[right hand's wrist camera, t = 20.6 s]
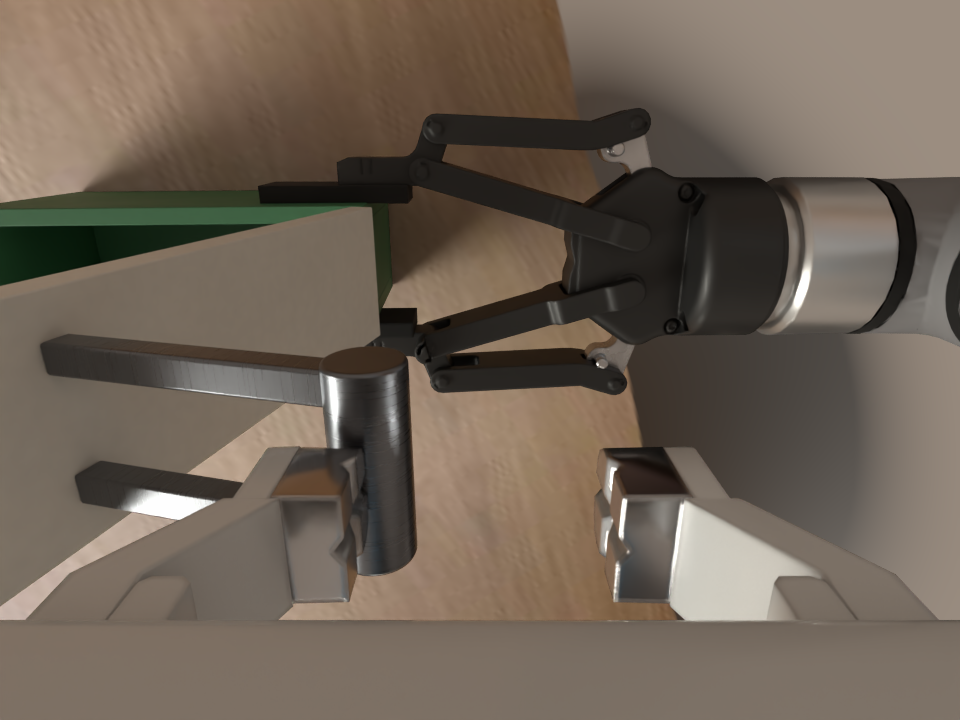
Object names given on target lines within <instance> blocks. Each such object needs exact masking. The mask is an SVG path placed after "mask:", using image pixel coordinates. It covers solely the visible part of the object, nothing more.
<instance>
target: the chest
mask: <svg viewBox="0 0 960 720" xmlns="http://www.w3.org/2000/svg"><path fill="white" fill-rule="evenodd" d="M348 207H371V208H372V216H373V232H374V247H375V262H376V277H377V293H378V308H379V314H380V312H381V309H382V307H383V305H384V303H385V301H386V299H387V297H388V294H389V292H390V290H391V288H392V286H393V285H392V267H391V250H390V232H389V214H388V203H282V204H260V199H259V190H249V191H129V192H76V193H69V194H62V195H55V196H47V197H40V198H33V199H26V200H19V201H11V202H4V203H0V286H3V285H7V284H12V283H16V282H21V281H25V280H29V279H34V278H38V277H43V276H47V275H52V274H56V273H60V272H65V271H69V270H74V269H78V268H83V267H87V266H91V265H96V264H100V263H105V262H109V261H113V260H118V259H122V258H127V257H131V256H136V255H140V254H144V253H149V252H153V251H158V250H162V249H167V248H171V247H175V246H180V245H184V244H189V243H193V242H197V241H202V240H206V239H211V238H215V237H220V236H224V235H228V234H233V233H237V232H242V231H246V230H251V229H255V228H259V227H264V226H268V225H273V224H277V223H281V222H286V221H290V220H295V219H299V218H304V217H308V216H312V215H317V214H321V213H326V212H330V211H335V210H339V209H343V208H348Z"/></svg>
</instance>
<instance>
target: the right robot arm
mask: <svg viewBox="0 0 960 720" xmlns="http://www.w3.org/2000/svg"><path fill="white" fill-rule="evenodd" d="M365 474H366V469H365V459H364V453H363V451H362V448H318V447H302V448H301V447H300V446H298V447H271V448H268V449H267V450H266V451H265V452H264V454H263V455H262V457H261V458H260V460H259V461H258V463H257V464H256V465H255V467H254V468H253V470H252V471H251V473H250V474H249V476H248V477H247V478H246V480H245V481H244V483H243V484H242V486H241V487H240V488H239V490H238V491H237V493H236V494H235V496H234V497H233V498H223V499H221V500H219V501H217V502H215V503H212V504H210V505H208V506H206V507H204V508H202V509H200V510H198V511H196V512H194V513H192V514H190V515H188V516H186V517H184V518H182V519H180V520H178V521H176V522H174V523H172V524H170V525H168V526H165V527H163V528H161V529H159V530H157V531H155V532H153V533H151V534H149V535H147V536H145V537H143V538H141V539H139V540H137V541H135V542H133V543H131V544H129V545H127V546H125V547H123V548H120V549H118V550H116V551H114V552H112V553H110V554H108V555H106V556H104V557H102V558H100V559H98V560H96V561H94V562H92V563H90V564H88V565H86V566H84V567H82V568H80V569H78V570H76V571H73V572H71V573H69V575H68V576H67V577H66V578H65V579H64V580H63V581H62V582H61V583H60V584H59V585H58V586H57V587H56V588H55V589H54V590H53V591H52V592H51V593H50V595H49V596H48V597H47V598H46V599H45V600H44V601H43V602H42V603H41V604H40V605H39V606H38V607H37V608H36V609H35V610H34V611H33V612H32V614H31V615H30V616H29V617H28V618H27V619H26V620H0V720H960V620H938V619H937V617H936V616H935V615H934V614H933V613H932V612H931V611H930V610H929V609H928V608H927V607H926V606H925V605H924V604H923V603H922V602H921V601H920V600H919V599H918V597H917V596H916V595H915V594H914V593H913V592H912V591H911V590H910V589H909V588H908V587H907V586H906V585H905V584H904V583H903V582H902V581H901V580H900V579H899V578H898V576H897V575H896V574H894V573H892V572H890V571H888V570H886V569H884V568H882V567H880V566H877V565H875V564H873V563H871V562H869V561H867V560H865V559H863V558H861V557H859V556H857V555H855V554H853V553H851V552H849V551H847V550H845V549H843V548H841V547H839V546H837V545H834V544H832V543H830V542H828V541H826V540H824V539H822V538H820V537H818V536H816V535H814V534H812V533H810V532H808V531H806V530H804V529H802V528H800V527H798V526H796V525H794V524H792V523H789V522H787V521H785V520H783V519H781V518H779V517H777V516H775V515H773V514H771V513H769V512H767V511H765V510H763V509H761V508H759V507H757V506H755V505H753V504H751V503H749V502H746V501H744V500H742V499H740V498H730V497H729V496H728V494H727V493H726V491H725V490H724V489H723V487H722V486H721V484H720V483H719V482H718V480H717V479H716V477H715V476H714V475H713V473H712V472H711V470H710V469H709V468H708V466H707V465H706V463H705V462H704V461H703V459H702V458H701V456H700V455H699V454H698V452H697V451H696V449H695V448H692V447H690V446H687V447H666V448H663V447H639V448H603V449H601V450H600V451H599V456H598V462H597V476H598V479H599V482H600V485H601V488H602V489H601V490H600V491H599V492H598V493H597V494H596V495H595V502H594V530H595V537H596V543H597V546H598V550H599V553H600V554H601V555H603V556H604V557H605V558H606V562H605V575H606V578H607V581H608V585H609V588H610V591H611V595H612V598H613V601H614V602H635V603H670V606H671V607H672V608H673V609H674V610H675V611H676V612H677V613H678V614H679V615H680V616H681V617H683V618H684V619H685V620H278V619H280V618H281V617H282V616H283V615H284V614H285V613H286V612H287V611H288V610H289V609H290V608H292V607H293V605H292V603H327V602H349V601H350V597H351V594H352V591H353V587H354V584H355V580H356V577H357V573H358V566H357V557H359V556H360V555H361V554H363V552H364V548H365V544H366V540H367V531H368V496H367V495H366V494H365V493H364V492H363V490H362V489H361V486H362V483H363V480H364V477H365Z"/></svg>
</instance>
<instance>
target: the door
mask: <svg viewBox="0 0 960 720" xmlns="http://www.w3.org/2000/svg"><path fill="white" fill-rule="evenodd" d="M378 336H380V323H379V308H378V293H377V277H376V262H375V247H374V232H373V216H372V208H371V207H348V208H343V209H339V210H335V211H330V212H326V213H321V214H317V215H312V216H308V217H304V218H299V219H295V220H290V221H286V222H281V223H277V224H273V225H268V226H264V227H259V228H255V229H251V230H246V231H242V232H237V233H233V234H228V235H224V236H220V237H215V238H211V239H206V240H202V241H197V242H193V243H189V244H184V245H180V246H175V247H171V248H167V249H162V250H158V251H153V252H149V253H144V254H140V255H136V256H131V257H127V258H122V259H118V260H113V261H109V262H105V263H100V264H96V265H91V266H87V267H83V268H78V269H74V270H69V271H65V272H60V273H56V274H52V275H47V276H43V277H38V278H34V279H29V280H25V281H21V282H16V283H12V284H7V285H3V286H0V606H1V605H3V604H4V603H6V602H7V601H8V600H10V599H11V598H13V597H14V596H15V595H17V594H18V593H20V592H21V591H22V590H24V589H25V588H27V587H28V586H29V585H31V584H32V583H34V582H35V581H36V580H38V579H39V578H41V577H42V576H43V575H45V574H46V573H48V572H49V571H50V570H52V569H53V568H55V567H56V566H57V565H59V564H60V563H62V562H63V561H64V560H66V559H67V558H69V557H70V556H71V555H73V554H74V553H76V552H77V551H78V550H80V549H81V548H83V547H84V546H85V545H87V544H88V543H90V542H91V541H92V540H94V539H95V538H97V537H98V536H99V535H101V534H102V533H104V532H105V531H106V530H108V529H109V528H111V527H112V526H113V525H115V524H116V523H118V522H119V521H120V520H122V519H123V518H125V517H126V516H127V515H129V514H130V513H132V512H134V513H140V514H145V515H151V516H156V517H162V518H167V519H173V520H180V519H182V518H184V517H186V516H188V515H190V514H192V513H194V512H196V511H198V510H200V509H202V508H204V507H206V506H208V505H210V504H212V503H215V502H217V501H219V500H221V499H223V498H233V497H234V496H235V494H236V493H237V491H238V490H239V488H240V487H241V486H242V484H243V483H242V482H235V481H229V480H223V479H216V478H210V477H204V476H197V475H191V474H186V473H188V472H189V471H191V470H192V469H193V468H195V467H196V466H198V465H199V464H200V463H202V462H203V461H205V460H206V459H207V458H209V457H210V456H212V455H213V454H214V453H216V452H217V451H219V450H220V449H221V448H223V447H224V446H226V445H227V444H228V443H230V442H231V441H233V440H234V439H235V438H237V437H238V436H240V435H241V434H242V433H244V432H245V431H247V430H248V429H249V428H251V427H252V426H254V425H255V424H256V423H258V422H259V421H261V420H262V419H263V418H265V417H266V416H268V415H269V414H270V413H272V412H273V411H275V410H276V409H277V408H279V407H280V406H282V405H283V404H284V403H290V404H299V405H307V406H316V407H323V414H324V424H325V433H326V443H327V448H362V451H363V453H364V459H365V469H366V474H365V477H364V480H363V483H362V486H361V489H362V490H363V492H364V493H365V494H366V495H367V496H368V531H367V540H366V544H365V548H364V552H363V554H361V555H360V556H359V557H357V566H358V573H357V574H359V575H363V576H380V575H386V574H389V573H393V572H395V571H397V570H399V569H401V568H403V567H404V566H406V565H407V564H408V563H409V562H410V561H411V560H412V558H413V557H414V555H415V553H416V550H417V530H416V510H415V490H414V470H413V450H412V430H411V410H410V390H409V369H408V359H407V357H406V356H405V354H404V353H402V352H400V351H398V350H395V349H391V348H386V347H376V346H366V345H367V344H368V343H370V342H371V341H373V340H374V339H375V338H377V337H378ZM364 346H365V347H364Z"/></svg>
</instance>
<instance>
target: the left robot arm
mask: <svg viewBox="0 0 960 720" xmlns="http://www.w3.org/2000/svg"><path fill="white" fill-rule="evenodd" d="M650 125H651V118H650V116H649V113H648V112H647V111H646V110H644V109H641V108H635V109H629V110H623V111H619V112H616V113H613V114H610V115H607V116H604V117H601V118H598V119H595V120H592V121H581V120H560V119H539V118H518V117H497V116H476V115H455V114H431V115H430V116H428V117H427V118H426V119H425V121H424V122H423V127H422V131H421V134H420V137H419V140H418V144H417V146H416V149H415V150H414V151H413V153H411V154H410V155H409V156H405V157H349V158H346V159H344V160H341V161H339V162H337V172H338V182H273V183H269V184H265V185H260V186H258V190H259V199H260V204H282V203H409V202H410V200H411V199H412V198H413V194H412V186H420V187H423V188H427V189H430V190H434V191H437V192H440V193H444V194H447V195H451V196H454V197H457V198H461V199H464V200H467V201H471V202H474V203H478V204H481V205H484V206H488V207H491V208H495V209H498V210H501V211H505V212H508V213H511V214H515V215H518V216H522V217H525V218H528V219H532V220H535V221H539V222H542V223H545V224H549V225H552V226H554V227H556V228H559V229H562V230H564V241H565V246H566V250H567V258H566V262H565V265H564V268H563V273H562V281H558V282H555V283H551V284H549V285H546V286H545V287H543V288H542V289H540V290H536V291H533V292H529V293H526V294H523V295H519V296H516V297H512V298H509V299H505V300H502V301H498V302H495V303H492V304H488V305H485V306H481V307H478V308H474V309H471V310H467V311H464V312H460V313H457V314H454V315H450V316H447V317H443V318H440V319H436V320H433V321H429V322H426V323H424V324H423V325H417V308H382V309H381V312H380V314H379V323H380V336H378V337H377V338H375V339H374V340H373V341H371V342H370V343H368V344H367V345H366V346H376V347H386V348H391V349H395V350H398V351H400V352H402V353H404V354H405V356H413V357H416V359H417V360H418V361H419V362H420V363H422V364H424V365H425V368H426V370H427V372H428V375H429V377H430V379H431V380H430V383H431V387H432V388H433V389H434V390H435V391H437V392H441V393H449V392H468V391H488V390H507V389H526V388H546V387H565V386H583V387H586V388H590V389H593V390H597V391H600V392H604V393H607V394H611V395H617V394H620V393H622V392H623V391H624V390H625V389H626V387H627V380H626V378H625V376H624V375H623V373H624V370H625V368H626V365H627V363H628V361H629V358H630V356H631V353H632V351H633V349H634V346H635V345H639V344H643V343H645V342H647V341H649V340H651V339H653V338H655V337H658V336H662V335H746V334H750V333H752V332H754V331H755V330H757V331H758V332H760V333H761V334H766V335H787V334H823V333H847V334H860V333H916V334H924V335H930V336H934V337H938V338H940V339H943V340H945V341H948V342H950V343H952V344H955V345H957V346H959V347H960V177H942V178H904V179H876V178H858V177H857V178H855V177H853V178H852V177H781V178H773V179H772V180H770V181H768V182H765V181H764V180H762V179H760V178H755V177H752V178H751V177H748V178H747V177H745V178H744V177H741V178H740V177H739V178H738V177H734V178H733V177H732V178H731V177H727V178H726V177H725V178H681V177H673V176H670V175H668V174H666V173H665V172H663V171H662V170H660V169H658V168H654V167H652V165H651V160H650V155H649V150H648V145H647V140H646V135H645V134H646V133H647V131H648V130H649V128H650ZM447 144H457V145H479V146H500V147H522V148H544V149H566V150H597V153H598V155H599V157H600V158H601V159H602V160H603V161H606V162H610V163H620V164H621V165H623V167H624V168H625V171H626V173H625V174H623V175H622V176H621V177H619V178H618V179H616V180H615V181H614V182H612V183H611V184H610V185H608V186H607V187H605V188H604V189H603V190H601V191H600V192H598V193H597V194H596V195H594V196H593V197H592V198H590V199H589V200H587V201H586V202H585V203H581V202H577V201H574V200H571V199H567V198H564V197H561V196H557V195H553V194H549V193H546V192H543V191H539V190H536V189H533V188H529V187H526V186H523V185H519V184H516V183H513V182H509V181H506V180H503V179H500V178H496V177H493V176H490V175H486V174H483V173H480V172H476V171H473V170H470V169H466V168H463V167H460V166H457V165H453V164H450V163H447V162H443V161H442V158H443V155H444V152H445V149H446V146H447ZM585 318H590V319H591V320H592V321H594V322H595V323H597V324H598V325H599V326H601V327H602V328H603V329H605V330H606V331H608V332H609V333H610V334H612V337H611V338H610V339H609V340H607V341H606V342H594V343H591V344H590V345H588V346H587V347H586V349H585V350H582V349H576V348H553V349H533V350H513V351H494V352H474V353H454V352H458V351H461V350H465V349H468V348H472V347H475V346H479V345H482V344H486V343H489V342H493V341H496V340H500V339H503V338H507V337H510V336H514V335H517V334H521V333H524V332H528V331H531V330H535V329H538V328H542V327H545V326H549V325H553V324H557V325H564V324H568V323H571V322H575V321H578V320H582V319H585ZM364 347H365V346H364ZM451 353H454V354H451Z"/></svg>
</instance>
